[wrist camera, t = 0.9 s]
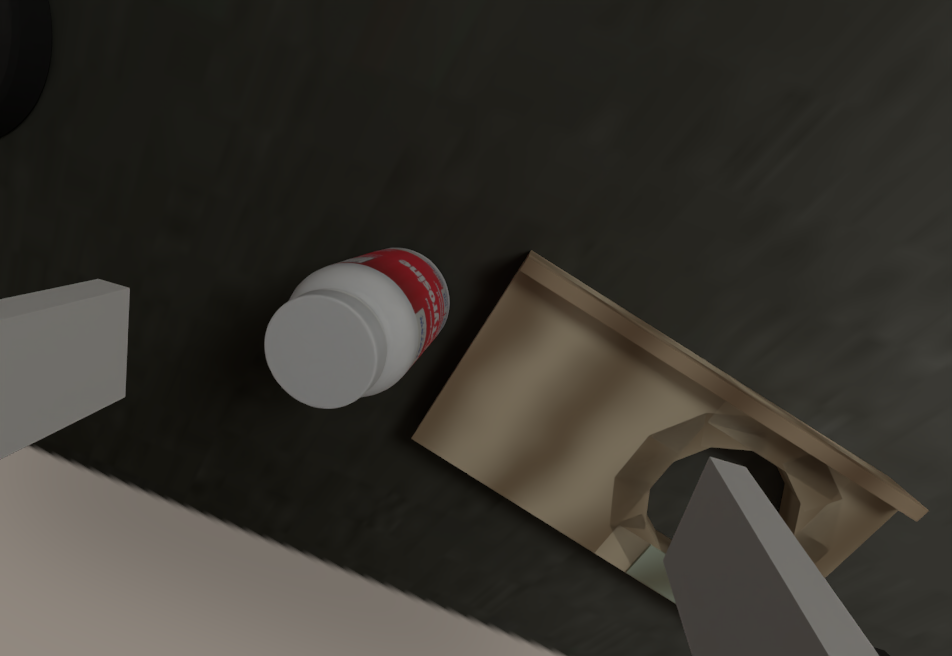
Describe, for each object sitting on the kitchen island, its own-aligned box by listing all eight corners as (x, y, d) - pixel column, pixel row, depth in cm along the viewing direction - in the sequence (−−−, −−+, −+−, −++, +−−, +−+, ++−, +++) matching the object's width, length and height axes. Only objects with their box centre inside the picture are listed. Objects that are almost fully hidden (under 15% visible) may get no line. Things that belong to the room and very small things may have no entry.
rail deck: (419, 423, 32) (405, 448, 29) (530, 250, 28) (528, 256, 25) (736, 622, 32) (755, 666, 29) (888, 476, 29) (929, 510, 25)
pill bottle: (463, 336, 30) (414, 413, 20) (369, 356, 31) (275, 438, 21) (436, 234, 29) (367, 258, 18) (339, 258, 30) (223, 294, 20)
